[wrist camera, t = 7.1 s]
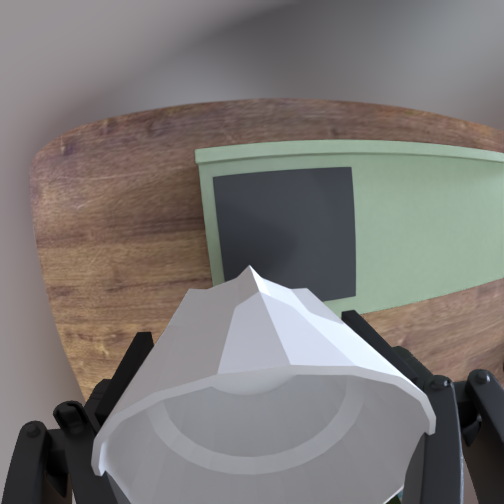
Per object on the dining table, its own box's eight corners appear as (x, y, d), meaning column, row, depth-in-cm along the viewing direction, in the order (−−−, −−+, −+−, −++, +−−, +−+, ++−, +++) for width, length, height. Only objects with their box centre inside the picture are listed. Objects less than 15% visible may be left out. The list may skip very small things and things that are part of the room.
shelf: (221, 298, 33) (220, 347, 23) (205, 162, 30) (194, 149, 19) (479, 257, 36) (529, 276, 25) (479, 159, 32) (533, 159, 22)
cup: (305, 220, 15) (431, 280, 5) (351, 372, 17) (426, 490, 7) (124, 292, 15) (24, 415, 5) (204, 423, 17) (199, 556, 7)
